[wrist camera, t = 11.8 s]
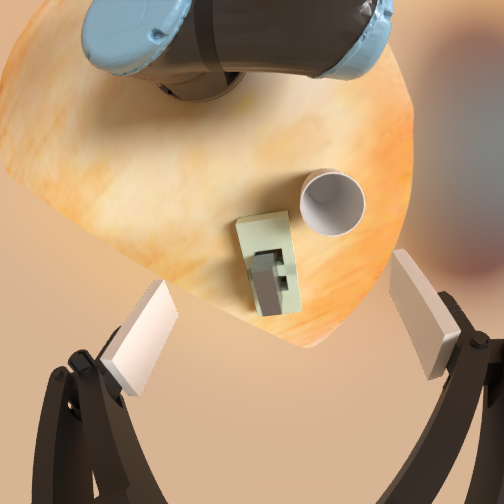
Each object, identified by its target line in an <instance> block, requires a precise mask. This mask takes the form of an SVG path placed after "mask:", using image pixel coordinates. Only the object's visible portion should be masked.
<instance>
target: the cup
mask: <svg viewBox="0 0 504 504" xmlns="http://www.w3.org/2000/svg"><path fill="white" fill-rule="evenodd" d="M300 211H301V215H302V217H303V220H304V221H305V223H306V224H307V225H308V227H309V228H310V229H312V230H313V231H314V232H316V233H318V234H320V235H323V236H329V237H335V236H341V235H344V234H346V233H348V232H350V231H351V230H353V229H354V228H355V227H356V226H357V225H358V224H359V222H360V221H361V219H362V217H363V215H364V211H365V196H364V193H363V190H362V188H361V187H360V185H359V184H358V183H357V182H356V181H355V180H354V179H353V178H351V177H350V176H348V175H346V174H344V173H343V172H341V171H338V170H335V169H318V170H316V171H314V172H312V173H311V174H310V175H309V176H308V177H307V178H306V180H305V182H304V183H303V185H302V188H301V193H300Z"/></svg>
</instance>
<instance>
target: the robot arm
mask: <svg viewBox="0 0 504 504" xmlns="http://www.w3.org/2000/svg"><path fill="white" fill-rule="evenodd" d="M392 14H393V1H392V0H94V1H93V2H92V4H91V6H90V7H89V9H88V12H87V14H86V16H85V19H84V22H83V27H82V33H81V42H82V48H83V52H84V54H85V56H86V58H87V59H88V60H89V61H90V62H91V64H92V65H93V66H95V67H96V68H98V69H101V70H104V71H107V72H109V73H111V74H113V75H116V76H130V77H135V78H140V79H145V80H150V81H154V82H155V83H156V84H157V85H158V87H159V88H160V89H161V90H162V91H163V92H165V93H166V94H168V95H169V96H171V97H174V98H176V99H179V100H184V101H189V102H203V101H208V100H212V99H215V98H218V97H220V96H222V95H224V94H226V93H227V92H229V91H230V90H231V89H233V88H234V87H235V86H236V85H237V84H238V83H239V82H240V81H241V79H242V78H243V76H244V75H245V73H246V72H269V73H284V74H295V75H305V76H308V77H309V78H313V79H321V78H330V79H338V80H352V79H356V78H360V77H361V76H363V75H364V74H366V73H367V72H368V71H369V70H370V69H371V68H372V67H373V66H374V65H375V63H376V62H377V60H378V59H379V57H380V56H381V54H382V52H383V50H384V48H385V46H386V43H387V40H388V38H389V35H390V31H391V25H392V23H391V22H390V18H391V16H392ZM389 292H390V295H391V297H392V299H393V301H394V303H395V305H396V307H397V309H398V311H399V314H400V316H401V318H402V320H403V322H404V324H405V327H406V329H407V331H408V333H409V336H410V338H411V340H412V343H413V345H414V347H415V350H416V352H417V355H418V357H419V359H420V362H421V365H422V367H423V370H424V372H425V375H426V378H427V380H431V379H435V378H438V377H441V376H442V375H443V374H444V371H445V369H446V368H447V370H448V372H449V376H448V378H447V380H446V382H445V384H444V386H443V390H442V393H441V395H440V397H439V400H438V402H437V404H436V406H435V408H434V411H433V413H432V415H431V417H430V419H429V421H428V423H427V425H426V427H425V429H424V431H423V433H422V434H421V436H420V438H419V440H418V442H417V443H416V445H415V447H414V449H413V450H412V452H411V454H410V455H409V457H408V459H407V460H406V462H405V463H404V465H403V466H402V468H401V469H400V471H399V472H398V474H397V475H396V477H395V478H394V480H393V481H392V483H391V484H390V485H389V487H388V488H387V489H386V491H385V492H384V493H383V495H382V496H381V497H380V499H379V500H378V501H377V502H376V504H432V502H433V500H434V499H435V497H436V496H437V494H438V492H439V490H440V489H441V487H442V485H443V483H444V482H445V480H446V478H447V476H448V474H449V472H450V470H451V468H452V466H453V464H454V462H455V460H456V458H457V456H458V454H459V452H460V449H461V447H462V445H463V442H464V440H465V438H466V435H467V433H468V430H469V427H470V425H471V422H472V419H473V416H474V413H475V410H476V407H477V404H478V401H479V397H480V394H481V390H482V387H483V386H484V394H483V412H482V423H481V430H480V438H479V445H478V451H477V456H476V461H475V466H474V470H473V474H472V478H471V482H470V486H469V490H468V493H467V496H466V500H465V503H464V504H504V339H490V338H489V336H487V335H486V334H485V333H484V332H481V331H475V329H474V328H473V326H472V325H471V323H470V321H469V320H468V318H467V317H466V315H465V314H464V312H463V311H461V308H460V307H459V305H457V302H456V301H455V300H454V298H453V297H452V296H451V295H449V294H448V293H447V292H445V291H443V292H439V293H436V291H435V290H434V288H433V287H432V285H431V284H430V283H429V282H428V280H427V278H426V277H425V276H424V274H423V273H422V272H421V270H420V269H419V268H418V266H417V265H416V264H415V262H414V261H413V260H412V258H411V257H410V256H409V254H408V253H407V252H406V251H405V249H399V250H392V255H391V274H390V288H389ZM178 316H179V314H178V312H177V310H176V307H175V305H174V303H173V301H172V298H171V296H170V293H169V291H168V289H167V286H166V284H165V281H164V280H157V281H153V282H152V284H151V285H150V286H149V288H148V289H147V290H146V292H145V293H144V295H143V296H142V297H141V299H140V300H139V302H138V303H137V304H136V306H135V307H134V309H133V310H132V312H131V313H130V314H129V316H128V317H127V319H126V320H125V322H124V323H123V325H122V326H120V327H119V328H117V329H116V330H115V331H114V332H113V334H112V335H111V337H110V339H109V340H108V341H107V343H106V345H105V346H104V347H103V349H102V350H101V351H100V353H99V355H98V356H97V358H96V359H95V361H94V359H93V358H92V357H91V355H90V354H89V352H88V351H87V350H78V351H77V352H75V353H73V354H72V355H71V357H70V358H69V360H68V365H69V366H70V367H71V368H72V369H73V371H74V372H72V373H70V372H69V371H68V369H67V368H66V367H64V366H60V367H58V368H56V369H55V370H54V371H53V372H52V373H51V375H50V378H49V382H48V386H47V390H46V393H45V398H44V402H43V407H42V411H41V416H40V421H39V427H38V433H37V439H36V447H35V454H34V464H33V478H32V503H31V504H168V503H167V502H166V500H165V498H164V496H163V495H162V492H161V490H160V488H159V486H158V484H157V482H156V480H155V478H154V476H153V474H152V472H151V470H150V468H149V465H148V463H147V461H146V459H145V456H144V454H143V452H142V449H141V447H140V444H139V442H138V439H137V436H136V434H135V431H134V428H133V426H132V423H131V420H130V417H129V414H128V411H127V408H126V405H125V402H124V399H123V396H122V395H121V394H120V392H121V390H122V388H123V390H124V391H125V392H126V393H127V394H128V395H129V396H135V397H140V396H141V394H142V392H143V389H144V387H145V385H146V383H147V381H148V379H149V377H150V374H151V372H152V370H153V368H154V366H155V364H156V362H157V359H158V357H159V355H160V353H161V351H162V349H163V347H164V345H165V343H166V341H167V338H168V337H169V335H170V332H171V331H172V328H173V326H174V324H175V322H176V320H177V318H178ZM68 402H69V403H70V404H71V409H70V408H69V407H68ZM92 470H93V473H94V477H95V480H96V484H97V487H98V490H99V496H98V497H96V498H95V499H94V494H93V477H92Z"/></svg>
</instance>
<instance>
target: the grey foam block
mask: <svg viewBox="0 0 504 504" xmlns="http://www.w3.org/2000/svg"><path fill="white" fill-rule="evenodd" d="M251 274H252V278H253V282H254V286H255V289H256V293H257V297H258V301H259V305H260V308H261V312H262V316H271V315H280V314H282V299H283V295H282V276H279V275H278V270H277V250H276V249H272V250H265V251H258V252H257V256H255V257H254V262H253V266H252V271H251Z"/></svg>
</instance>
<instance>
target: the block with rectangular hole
mask: <svg viewBox="0 0 504 504" xmlns="http://www.w3.org/2000/svg"><path fill="white" fill-rule="evenodd" d="M235 225H236V230H237V234H238V238H239V242H240V246H241V250H242V254H243V258H244V262H245V266H246V270H247V274H248V278H249V282H250V286H251V290H252V294H253V298H254V302H255V306H256V310H257V314H258V316H262V312H261V308H260V305H259V301H258V297H257V293H256V289H255V286H254V282H253V278H252V274H251V271H252V266H253V262H254V257H255V256H257V252H258V251H265V250H272V249H280V248H282V254H283V256H282V257H277V270H278V275H279V276H286V277H287V281H283V282H282V295H283V299H282V314H287V313H296V312H302V304H301V295H300V288H299V281H298V274H297V267H296V260H295V253H294V247H293V240H292V234H291V228H290V222H289V216H288V210H285V211H278V212H272V213H265V214H259V215H252V216H246V217H240V218H238V220H237V222H236V224H235Z"/></svg>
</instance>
